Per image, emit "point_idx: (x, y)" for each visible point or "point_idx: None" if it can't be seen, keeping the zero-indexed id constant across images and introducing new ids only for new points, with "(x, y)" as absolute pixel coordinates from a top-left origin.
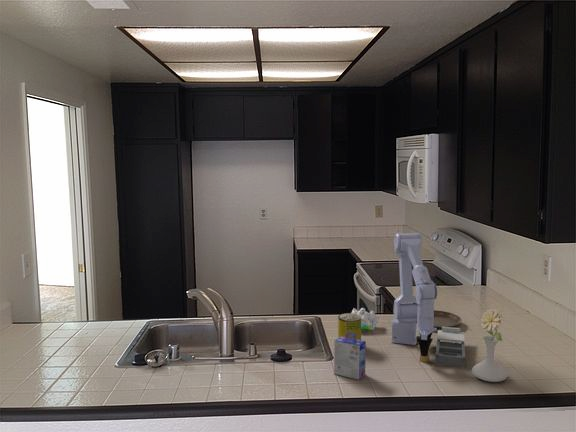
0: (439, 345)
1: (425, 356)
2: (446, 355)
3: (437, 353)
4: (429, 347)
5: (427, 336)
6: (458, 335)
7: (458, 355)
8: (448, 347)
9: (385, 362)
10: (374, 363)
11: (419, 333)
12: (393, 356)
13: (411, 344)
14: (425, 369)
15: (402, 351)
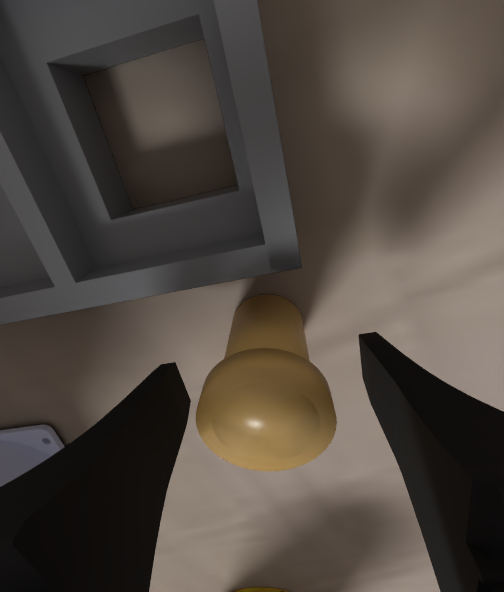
0: (5, 292)
1: (304, 340)
2: (265, 148)
3: (254, 260)
4: (299, 370)
5: (123, 482)
6: None
7: (68, 34)
8: (7, 190)
9: (395, 490)
10: None
11: (150, 579)
12: (291, 477)
13: (62, 443)
14: (432, 282)
15: (192, 457)
